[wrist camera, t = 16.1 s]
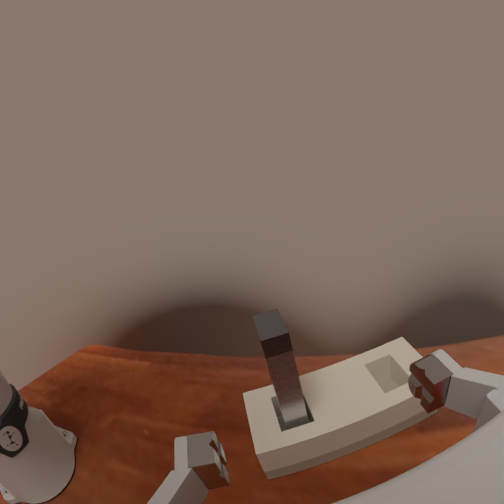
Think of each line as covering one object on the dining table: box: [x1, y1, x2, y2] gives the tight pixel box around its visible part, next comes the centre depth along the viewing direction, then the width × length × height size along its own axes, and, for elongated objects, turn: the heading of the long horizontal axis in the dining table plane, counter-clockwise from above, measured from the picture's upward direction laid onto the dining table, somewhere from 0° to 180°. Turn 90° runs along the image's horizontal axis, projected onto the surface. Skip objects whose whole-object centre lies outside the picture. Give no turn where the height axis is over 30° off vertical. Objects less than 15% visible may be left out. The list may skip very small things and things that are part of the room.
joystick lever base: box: [243, 337, 438, 480], centre depth 35 cm, size 22×10×6 cm, turn 99°
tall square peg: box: [253, 309, 309, 430], centre depth 32 cm, size 4×2×16 cm, turn 9°
